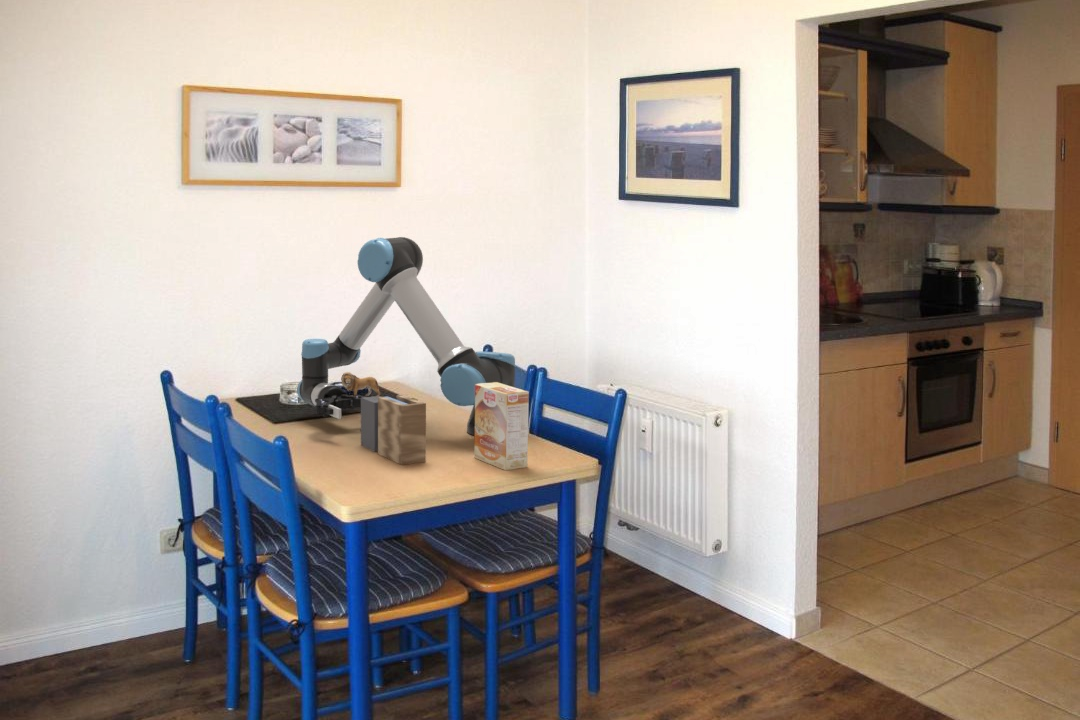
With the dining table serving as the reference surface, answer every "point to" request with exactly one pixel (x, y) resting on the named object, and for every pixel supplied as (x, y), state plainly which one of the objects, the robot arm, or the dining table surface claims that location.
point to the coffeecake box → (501, 425)
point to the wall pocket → (402, 430)
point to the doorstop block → (369, 422)
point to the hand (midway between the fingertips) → (363, 411)
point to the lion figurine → (359, 383)
